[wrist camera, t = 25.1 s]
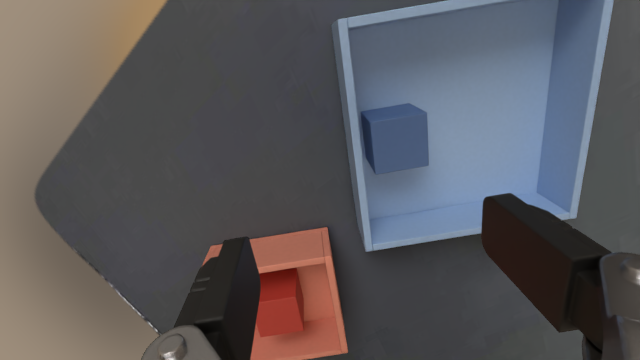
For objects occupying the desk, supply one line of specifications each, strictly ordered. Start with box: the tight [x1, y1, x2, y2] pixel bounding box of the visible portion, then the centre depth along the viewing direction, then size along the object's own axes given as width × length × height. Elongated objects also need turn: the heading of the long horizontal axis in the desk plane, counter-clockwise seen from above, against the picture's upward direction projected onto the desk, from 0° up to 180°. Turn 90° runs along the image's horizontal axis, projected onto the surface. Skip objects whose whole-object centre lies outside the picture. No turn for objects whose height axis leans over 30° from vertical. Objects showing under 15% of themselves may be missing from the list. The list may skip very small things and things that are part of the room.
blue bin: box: [331, 0, 614, 252], centre depth 25 cm, size 17×17×5 cm
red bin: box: [202, 227, 348, 360], centre depth 31 cm, size 11×11×5 cm
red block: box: [256, 268, 304, 337], centre depth 30 cm, size 4×4×4 cm
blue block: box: [361, 103, 429, 175], centre depth 25 cm, size 4×4×4 cm
